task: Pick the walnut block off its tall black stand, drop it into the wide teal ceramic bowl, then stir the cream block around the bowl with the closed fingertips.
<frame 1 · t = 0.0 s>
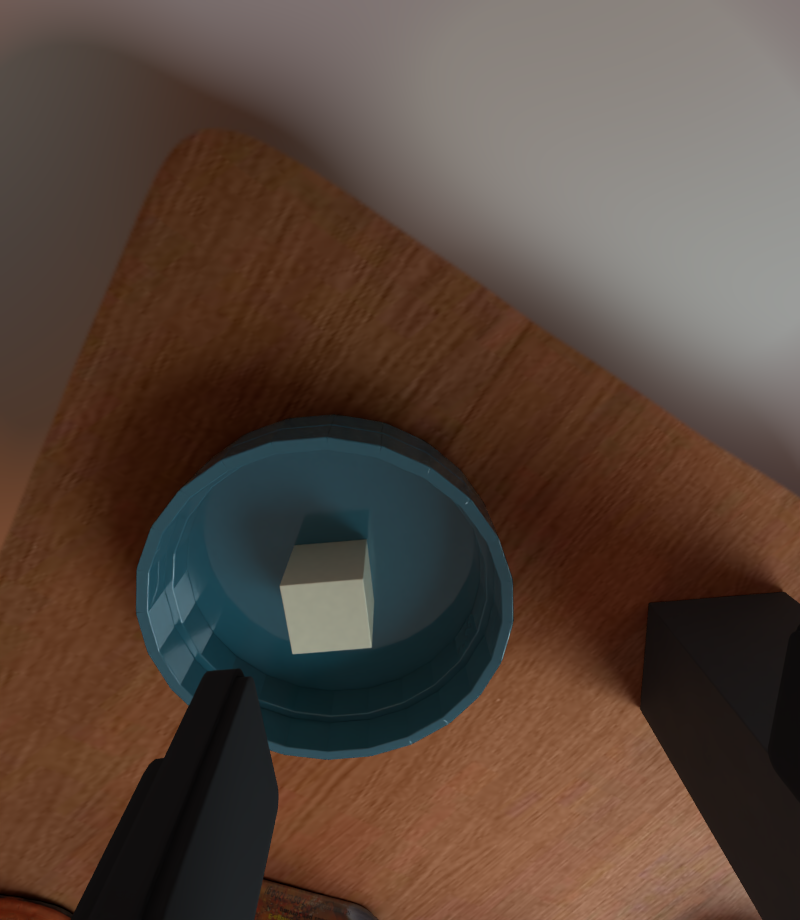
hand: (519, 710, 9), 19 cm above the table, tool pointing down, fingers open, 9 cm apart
tin: (303, 900, 39), on the table
stand: (709, 652, 32), on the table
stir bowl: (335, 569, 30), on the table
cream block: (334, 573, 29), resting on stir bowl
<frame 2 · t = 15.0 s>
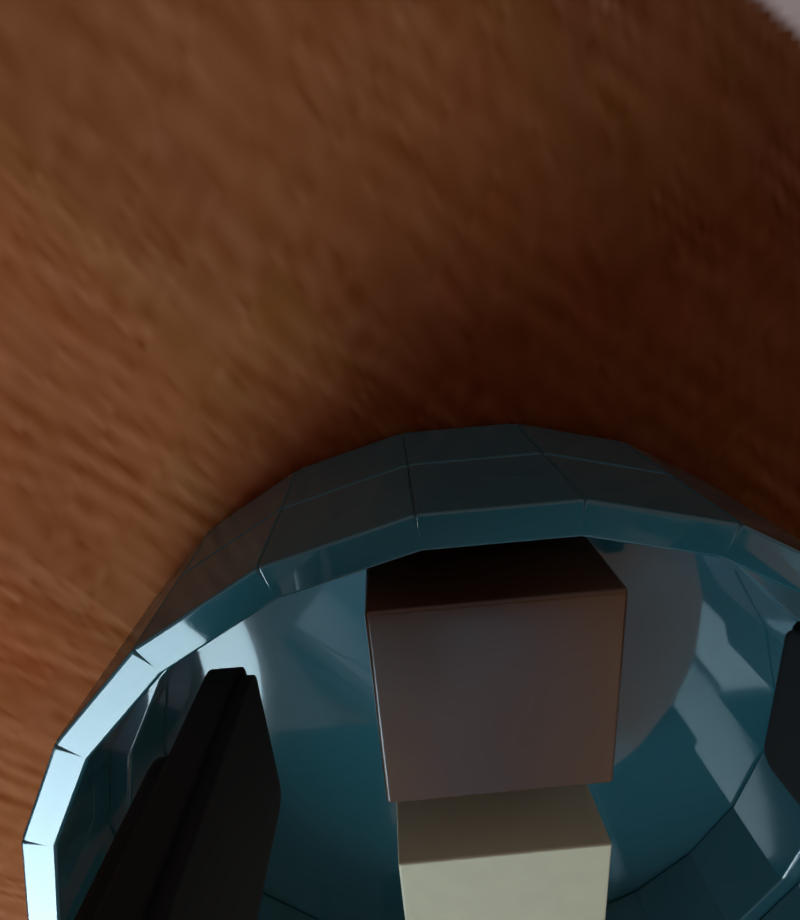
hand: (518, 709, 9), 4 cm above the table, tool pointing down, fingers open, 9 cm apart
walnut block: (461, 572, 12), resting on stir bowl
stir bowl: (469, 734, 15), on the table
cream block: (472, 749, 14), resting on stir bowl
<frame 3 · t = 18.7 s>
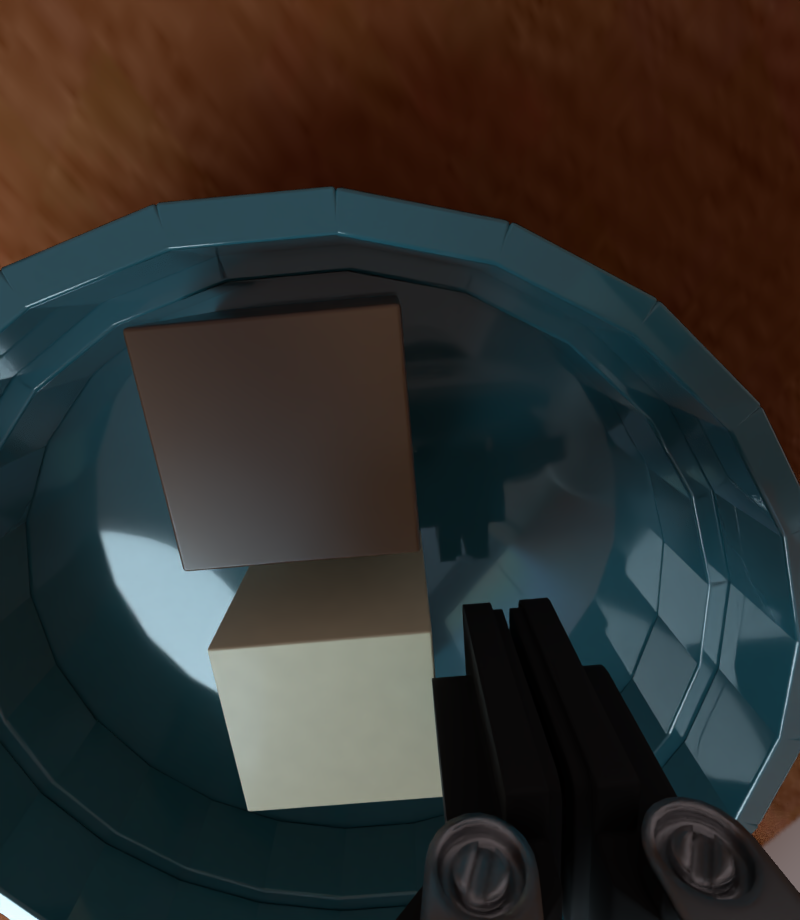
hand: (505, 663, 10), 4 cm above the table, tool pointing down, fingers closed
walnut block: (317, 395, 12), resting on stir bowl
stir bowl: (351, 592, 14), on the table
cream block: (349, 603, 14), resting on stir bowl, touching gripper
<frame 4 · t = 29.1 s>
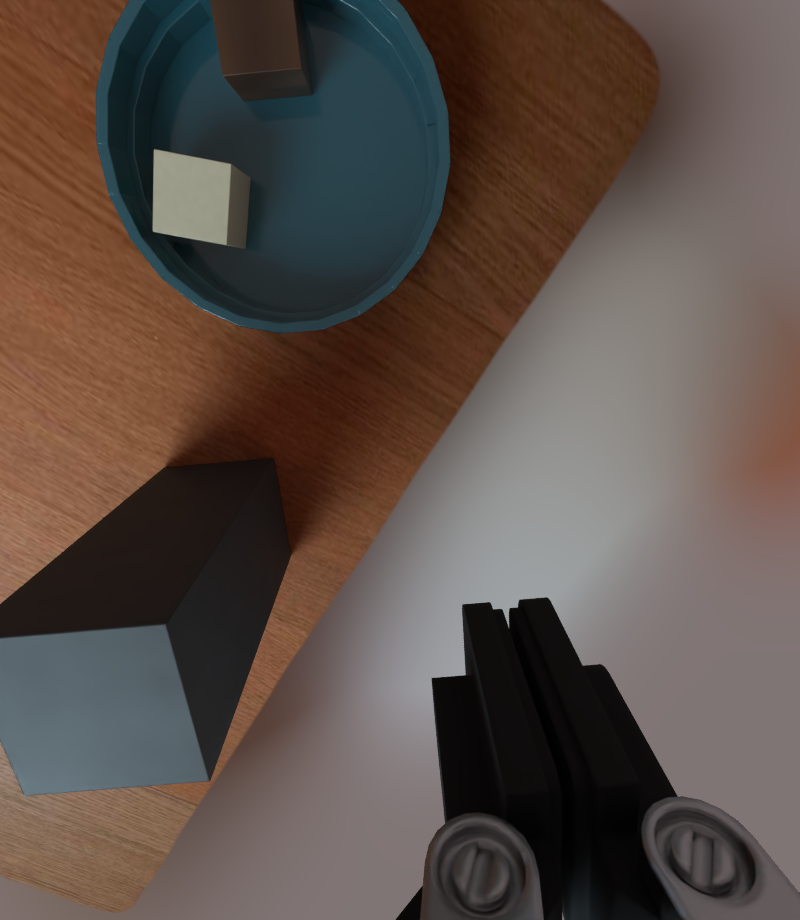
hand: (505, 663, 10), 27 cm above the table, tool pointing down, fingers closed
stand: (229, 513, 39), on the table
walnut block: (272, 56, 29), resting on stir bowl
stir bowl: (290, 170, 31), on the table
cream block: (215, 207, 32), point 1 cm above the table, touching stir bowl
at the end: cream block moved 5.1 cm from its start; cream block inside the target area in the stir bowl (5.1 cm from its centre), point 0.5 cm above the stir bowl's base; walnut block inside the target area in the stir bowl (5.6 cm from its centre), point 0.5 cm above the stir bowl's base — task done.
